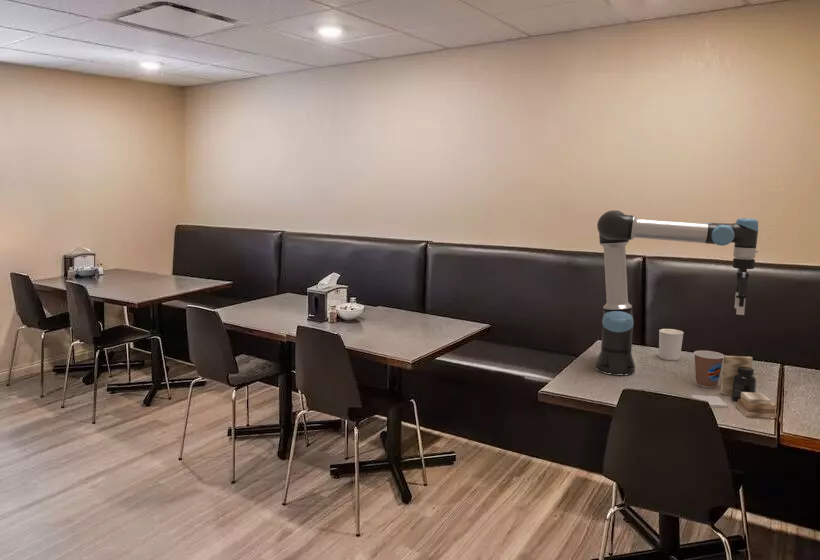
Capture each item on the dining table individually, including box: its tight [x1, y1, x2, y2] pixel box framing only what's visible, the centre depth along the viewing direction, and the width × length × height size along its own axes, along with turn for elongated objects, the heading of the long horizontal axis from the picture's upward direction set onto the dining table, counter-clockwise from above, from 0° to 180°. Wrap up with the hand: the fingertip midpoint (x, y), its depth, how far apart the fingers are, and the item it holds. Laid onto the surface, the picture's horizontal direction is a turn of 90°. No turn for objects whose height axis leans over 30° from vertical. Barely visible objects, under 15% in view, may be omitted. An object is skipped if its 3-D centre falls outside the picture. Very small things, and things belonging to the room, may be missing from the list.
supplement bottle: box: [731, 367, 757, 403], centre depth 201 cm, size 7×7×12 cm
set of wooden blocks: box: [720, 355, 778, 419], centre depth 197 cm, size 9×23×14 cm, turn 171°
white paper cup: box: [658, 328, 684, 361], centre depth 254 cm, size 10×10×12 cm
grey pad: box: [690, 394, 729, 409], centre depth 201 cm, size 9×9×1 cm
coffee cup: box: [693, 350, 725, 389], centre depth 218 cm, size 10×10×12 cm
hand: (739, 311), depth 229 cm, fingers open, 13 cm apart
